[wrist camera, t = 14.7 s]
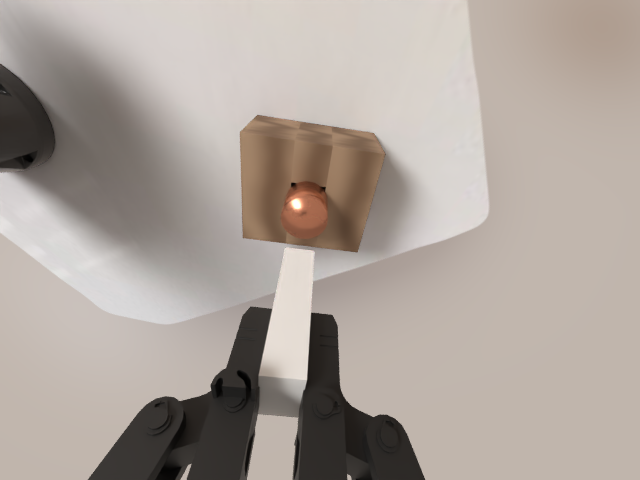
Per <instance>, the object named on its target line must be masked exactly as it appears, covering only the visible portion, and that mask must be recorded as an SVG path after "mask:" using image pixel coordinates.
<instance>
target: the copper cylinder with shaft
mask: <svg viewBox="0 0 640 480" xmlns="http://www.w3.org/2000/svg"><path fill="white" fill-rule="evenodd" d="M327 222H328V199H327V195H326V193H325V191H324V190H323V188H322V187H320V186H319V185H318V184H316V183H313V182H309V181H303V182H299V183H296V184H294V185H293V186H292V187H291V188H290V189H289V190H288V192H287V194H286V198H285V202H284V205H283V209H282V213H281V223H282V226H283V227H284V229H285V230H286V231H287V232H288V233H289V234H290V235H292V236H294V237H296V238H300V239H310V238H314V237H316V236H318V235H320V234H321V233H322V232H323V231H324V230H325V228H326V226H327Z"/></svg>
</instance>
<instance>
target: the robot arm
mask: <svg viewBox="0 0 640 480" xmlns="http://www.w3.org/2000/svg"><path fill="white" fill-rule="evenodd" d="M53 149H54V133H53V129H52V126H51V123H50V121H49V118H48V116H47V114H46V112H45V111H44V109H43V107H42V106H41V104H40V103H39V101H38V100H37V99H36V97H35V96H34V95H33V94H32V92H31V91H30V90H29V89H28V88H27V87H26V86H25V85H24V84H23V83H22V82H21V81H20V80H19V79H18V78H17V77H16V76H15V75H13V74H12V73H11V72H10V71H9V70H7V69H6V68H5V67H3V66H2V65H0V173H2V172H17V171H23V170H27V169H30V168H32V167H35V166H37V165H40V164H42V163H44V162H45V161H47V160H48V159H49V157H50V156H51V154H52V152H53ZM314 253H315V251H312V250H304V249H296V248H288V247H285V251H284V255H283V260H282V265H281V270H280V275H279V280H278V284H277V289H276V294H275V299H274V304H273V309H267V308H258V307H250V308H249V309H248V310H247V311H246V313H245V314H244V315H243V316H242V319H241V323H240V326H239V330H238V332H237V336H236V339H235V342H234V345H233V348H232V351H231V355H230V358H229V361H228V364H227V367H226V369H224V370H222V371H221V372H220V373H219V374H218V375H216V376H215V378H214V379H213V381H212V383H211V390H212V391H210V392H208V393H207V394H204V395H202V396H199V397H195V398H191V399H187V400H183V401H178V400H177V399H176V398H174V397H162V398H157V399H155V400H153V401H151V402H150V403H148V404H147V405H146V406H145V407H144V408H143V409H142V410H141V411H140V412H139V413H138V414H137V415H136V417H135V418H134V419H133V421H132V422H131V423H130V425H129V426H128V427H127V429H126V430H125V431H124V433H123V434H122V435H121V436H120V438H119V439H118V440H117V442H116V443H115V444H114V446H113V447H112V448H111V450H110V451H109V452H108V454H107V455H106V456H105V458H104V459H103V460H102V462H101V463H100V464H99V466H98V467H97V468H96V470H95V471H94V472H93V474H92V475H91V476H90V478H89V479H88V480H180V479H181V477H182V475H183V474H184V472H185V470H186V468H187V466H188V465H189V464H192V465H191V468H190V471H189V474H188V477H187V480H247V475H248V470H249V464H250V458H251V453H252V448H253V442H254V437H255V426H256V421H257V415H258V414H263V415H276V416H287V417H299V418H298V431H297V435H296V440H295V457H294V470H293V480H347V474H348V475H350V476H351V478H352V480H425V478H424V476H423V473H422V471H421V468H420V466H419V463H418V461H417V458H416V456H415V453H414V451H413V448H412V446H411V443H410V441H409V438H408V436H407V433H406V432H405V430H404V428H403V427H402V425H401V424H400V423H399V422H398V421H397V420H396V419H394V418H393V417H390V416H388V415H378V416H375V417H372V416H370V415H368V414H365V413H363V412H361V411H359V410H357V409H356V408H354V407H352V406H351V405H350V404H349V403H348V402H347V401H346V399H345V398H344V397H343V394H342V392H341V389H340V378H339V351H338V327H337V324H336V321H335V319H334V317H333V315H328V314H319V313H311V303H312V285H313V269H314Z"/></svg>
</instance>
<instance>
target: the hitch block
mask: <svg viewBox="0 0 640 480" xmlns="http://www.w3.org/2000/svg"><path fill="white" fill-rule="evenodd" d="M240 152H241V187H242V223H243V238H248V239H255V240H263V241H271V242H279V243H287V244H295V245H303V246H311V247H319V248H327V249H335V250H343V251H351V252H358V249H359V245H360V242H361V238H362V235H363V231H364V228H365V224H366V221H367V217H368V213H369V210H370V206H371V203H372V199H373V196H374V192H375V189H376V185H377V182H378V178H379V175H380V171H381V168H382V164H383V161H384V157H385V153H384V151H383V149H382V147H381V145H380V144H379V142H378V140H377V138H376V136H375V134H374V133H369V132H363V131H356V130H350V129H343V128H337V127H331V126H324V125H318V124H311V123H305V122H299V121H292V120H286V119H279V118H273V117H267V116H260V115H257V116H256V117H255V118H254V119H253V120H252V121H251V122H250V123H249V124H248V125H247V126H246V127H245V128H244V129H243V130H242V131H241V132H240ZM303 181H309V182H313V183H316V184H318V185H319V186H320V187H322V188H323V190H324V191H325V193H326V195H327V199H328V222H327V226H326V228H325V230H324V231H323V232H322V233H321V234H320V235H318V236H316V237H314V238H310V239H300V238H296V237H294V236H292V235H290V234H289V233H288V232H287V231H286V230H285V229H284V227H283V226H282V223H281V213H282V209H283V205H284V202H285V198H286V194H287V192H288V190H289V189H290V188H291V187H292V186H293V185H294V184H295V183H299V182H303Z"/></svg>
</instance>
